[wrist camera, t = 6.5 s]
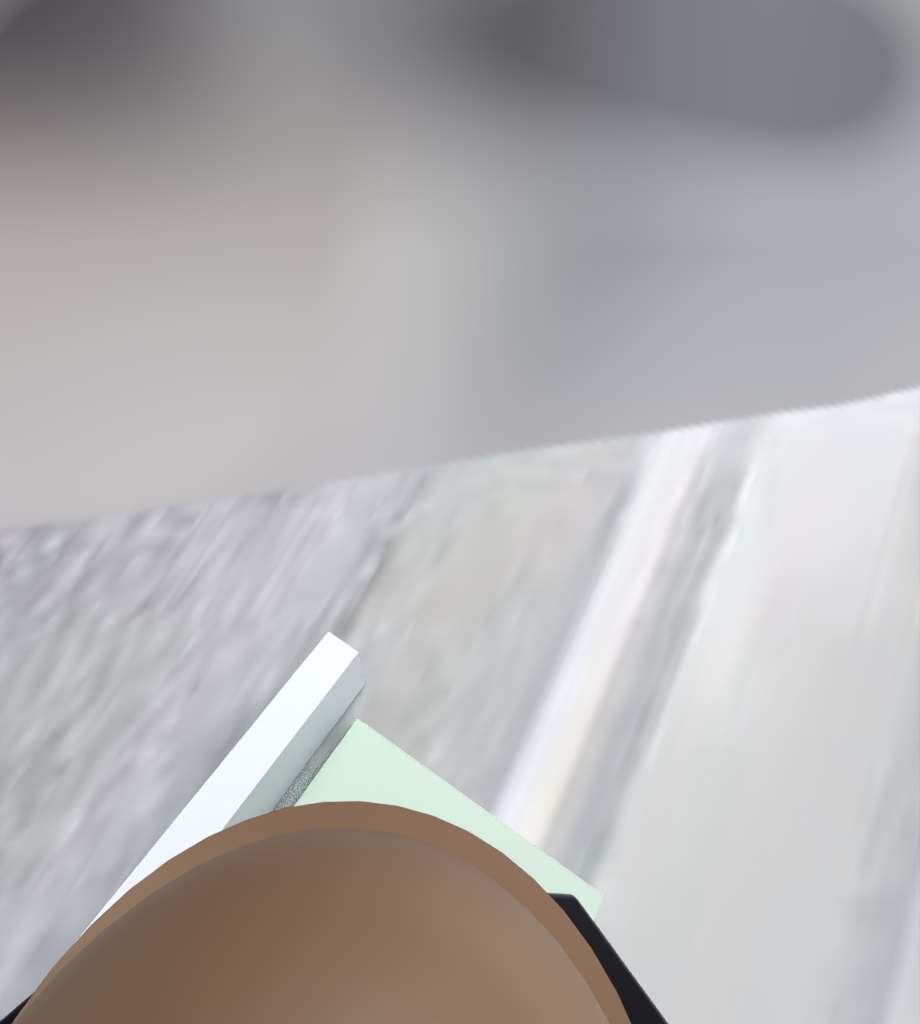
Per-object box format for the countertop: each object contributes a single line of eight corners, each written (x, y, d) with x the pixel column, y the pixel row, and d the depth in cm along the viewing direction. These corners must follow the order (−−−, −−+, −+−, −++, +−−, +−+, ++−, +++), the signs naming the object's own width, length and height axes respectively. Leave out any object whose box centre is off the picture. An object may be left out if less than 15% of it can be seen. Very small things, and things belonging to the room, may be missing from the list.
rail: (53, 1105, 13) (-34, 1163, 10) (23, 1073, 13) (-71, 1120, 10) (365, 683, 18) (358, 652, 15) (339, 665, 18) (328, 631, 16)
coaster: (429, 1296, 12) (429, 1308, 11) (143, 1019, 14) (136, 1023, 13) (599, 895, 16) (604, 896, 15) (358, 721, 17) (357, 718, 17)
